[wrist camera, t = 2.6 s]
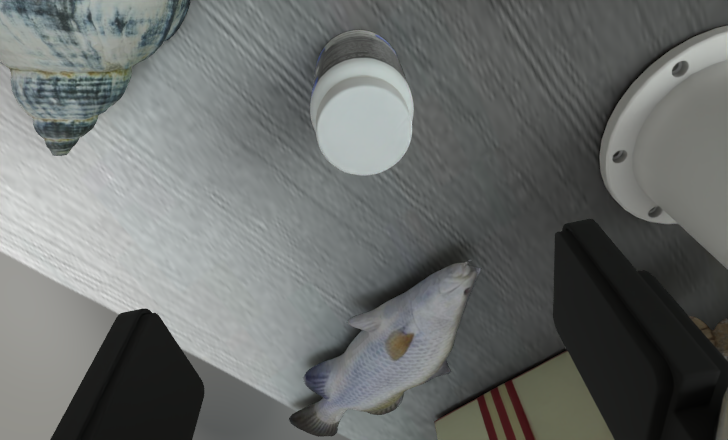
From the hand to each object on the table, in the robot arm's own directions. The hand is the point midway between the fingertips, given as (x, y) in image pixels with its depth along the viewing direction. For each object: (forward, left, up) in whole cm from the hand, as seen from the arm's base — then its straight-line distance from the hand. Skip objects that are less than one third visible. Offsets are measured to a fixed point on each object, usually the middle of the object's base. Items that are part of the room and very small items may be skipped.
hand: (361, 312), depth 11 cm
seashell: (+11, -7, -18) cm, 23 cm away
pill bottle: (-1, 0, -18) cm, 18 cm away
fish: (+6, +18, -17) cm, 25 cm away
